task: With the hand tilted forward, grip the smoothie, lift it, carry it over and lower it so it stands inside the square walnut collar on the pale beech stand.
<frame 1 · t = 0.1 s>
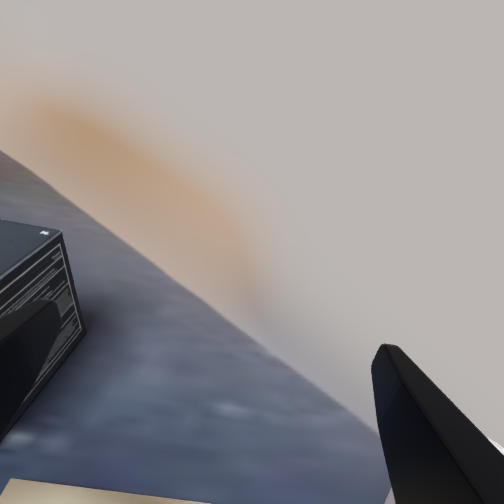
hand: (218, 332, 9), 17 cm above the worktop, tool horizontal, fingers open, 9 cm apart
small box: (10, 374, 25), on the worktop
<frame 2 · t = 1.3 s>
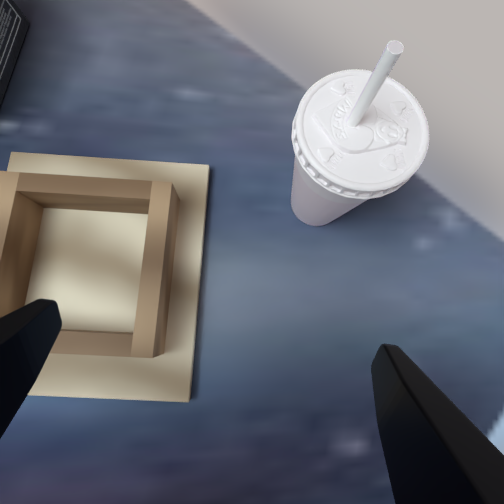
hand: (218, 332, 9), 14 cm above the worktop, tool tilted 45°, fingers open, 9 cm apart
bottle stand: (98, 270, 23), on the worktop
smoothie: (315, 203, 25), on the worktop
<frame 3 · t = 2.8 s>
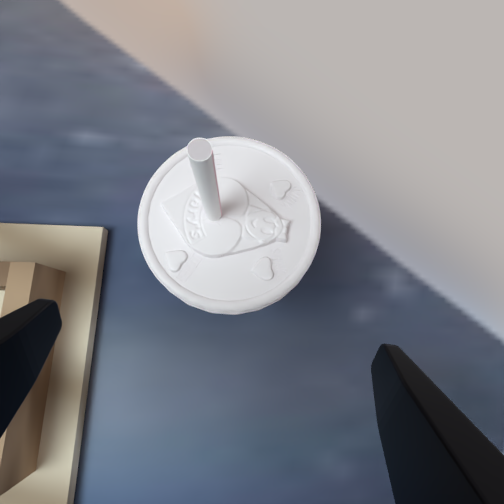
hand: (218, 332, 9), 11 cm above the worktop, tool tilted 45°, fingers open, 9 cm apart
smoothie: (234, 267, 21), on the worktop
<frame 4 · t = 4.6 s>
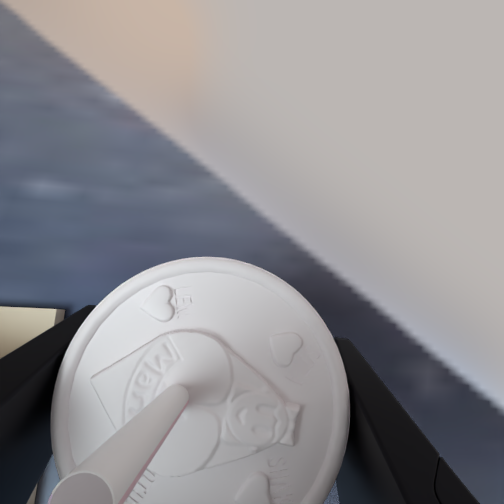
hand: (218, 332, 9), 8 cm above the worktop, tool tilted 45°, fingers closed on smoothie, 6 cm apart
smoothie: (224, 357, 17), on the worktop, touching gripper
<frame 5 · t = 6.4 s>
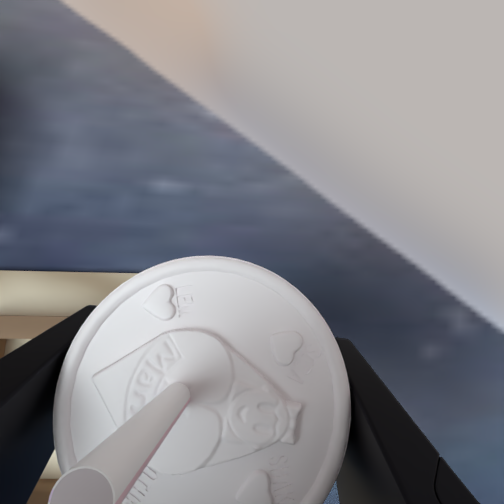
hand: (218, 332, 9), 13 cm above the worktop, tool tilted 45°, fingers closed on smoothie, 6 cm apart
bottle stand: (71, 401, 21), on the worktop
smoothie: (225, 357, 17), point 5 cm above the worktop, touching gripper
when the fingers open (9 cm above the worktop, at t = 8.7 s): smoothie stays where it is, resting on bottle stand.
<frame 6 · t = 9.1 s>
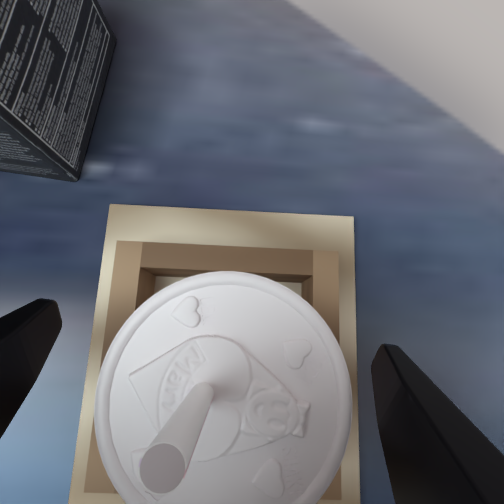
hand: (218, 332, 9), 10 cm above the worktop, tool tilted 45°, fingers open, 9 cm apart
bottle stand: (225, 354, 18), on the worktop
smoothie: (233, 358, 18), point 1 cm above the worktop, touching bottle stand
small box: (52, 102, 21), on the worktop
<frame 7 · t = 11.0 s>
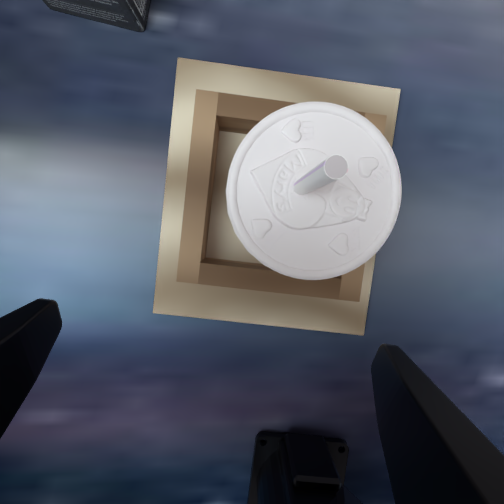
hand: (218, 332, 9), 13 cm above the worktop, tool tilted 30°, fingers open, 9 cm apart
bottle stand: (273, 203, 22), on the worktop
smoothie: (281, 206, 22), point 1 cm above the worktop, touching bottle stand
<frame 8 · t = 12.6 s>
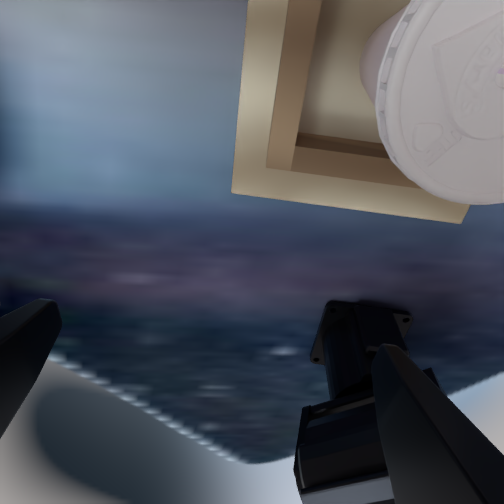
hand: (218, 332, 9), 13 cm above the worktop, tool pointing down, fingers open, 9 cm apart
bottle stand: (386, 55, 17), on the worktop
smoothie: (398, 61, 16), point 1 cm above the worktop, touching bottle stand
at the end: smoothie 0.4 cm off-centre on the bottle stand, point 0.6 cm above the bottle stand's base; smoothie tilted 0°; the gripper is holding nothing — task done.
